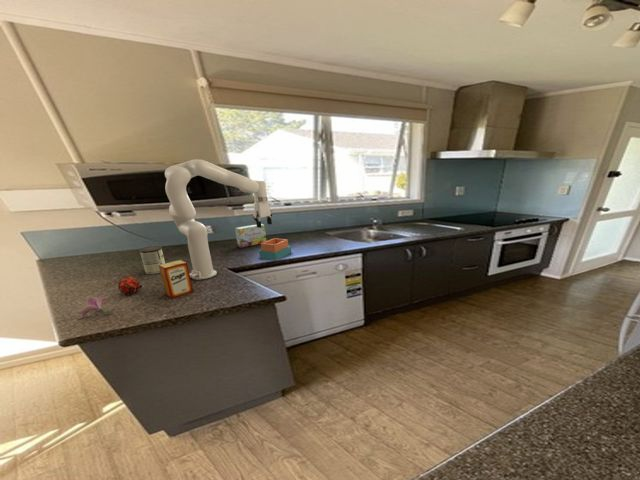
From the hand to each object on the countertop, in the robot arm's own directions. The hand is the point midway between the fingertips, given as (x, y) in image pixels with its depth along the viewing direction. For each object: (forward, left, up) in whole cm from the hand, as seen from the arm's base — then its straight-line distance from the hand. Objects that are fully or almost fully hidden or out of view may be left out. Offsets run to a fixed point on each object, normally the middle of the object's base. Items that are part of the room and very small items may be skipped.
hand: (264, 225), depth 187 cm
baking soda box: (-60, +3, -23) cm, 64 cm away
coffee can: (-44, +45, -23) cm, 67 cm away
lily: (-87, +15, -23) cm, 91 cm away
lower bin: (+5, -2, -23) cm, 23 cm away
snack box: (+21, +34, -23) cm, 46 cm away
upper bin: (+5, -2, -22) cm, 23 cm away
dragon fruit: (-68, +26, -23) cm, 76 cm away
